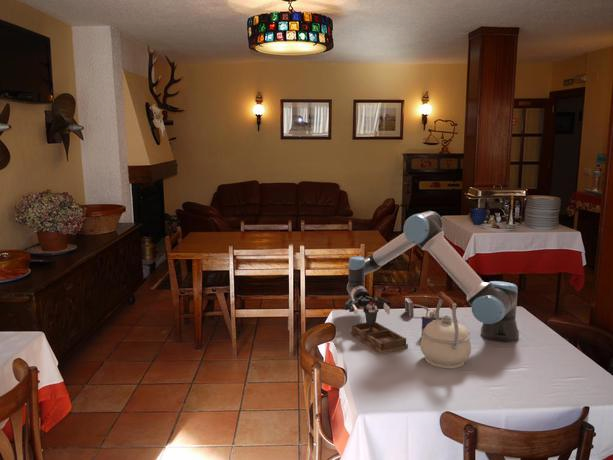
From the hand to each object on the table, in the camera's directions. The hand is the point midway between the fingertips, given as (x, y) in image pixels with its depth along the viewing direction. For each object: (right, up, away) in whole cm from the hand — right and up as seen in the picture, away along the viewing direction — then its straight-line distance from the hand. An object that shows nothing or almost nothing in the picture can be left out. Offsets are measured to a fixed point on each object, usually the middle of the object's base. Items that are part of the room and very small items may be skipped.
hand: (372, 312), depth 215 cm
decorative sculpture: (+26, -7, +30) cm, 40 cm away
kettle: (+25, -15, -17) cm, 33 cm away
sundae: (0, -10, +5) cm, 11 cm away
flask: (+26, -11, +5) cm, 29 cm away
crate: (+2, -12, +1) cm, 12 cm away
